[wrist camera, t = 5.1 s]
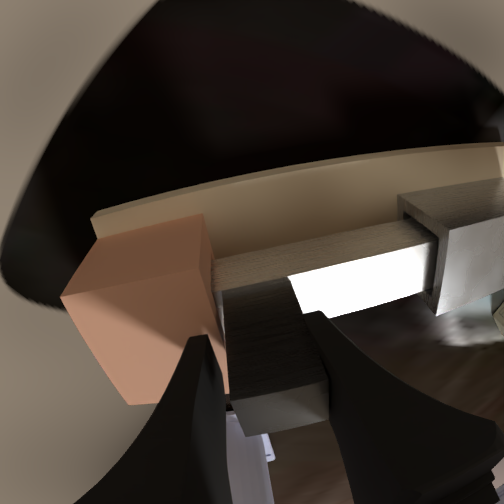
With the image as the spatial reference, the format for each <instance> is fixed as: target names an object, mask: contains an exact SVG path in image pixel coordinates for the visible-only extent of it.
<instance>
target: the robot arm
mask: <svg viewBox="0 0 504 504" xmlns="http://www.w3.org/2000/svg"><path fill="white" fill-rule="evenodd" d="M302 316H303V319H304V322H305V324H306V327H307V330H308V332H309V335H310V337H311V339H312V341H313V342H314V344H315V346H316V348H317V350H318V353H319V356H320V358H321V361H322V364H323V366H324V369H325V372H326V374H327V377H328V380H329V421H330V424H331V426H332V428H333V431H334V433H335V436H336V439H337V442H338V444H339V448H340V451H341V455H342V458H343V462H344V465H345V469H346V473H347V477H348V480H349V484H350V488H351V492H352V496H353V500H354V504H504V484H503V485H502V486H500V487H499V488H497V489H496V490H495V488H494V486H493V484H492V481H493V480H494V479H495V477H494V475H493V473H492V471H491V470H492V468H494V466H496V465H497V464H498V463H499V461H501V459H502V458H503V457H504V433H503V432H502V430H501V429H500V428H499V426H498V425H497V424H496V423H495V421H492V420H488V419H485V418H482V417H479V416H475V415H472V414H469V413H466V412H463V411H461V410H458V409H456V408H454V407H451V406H449V405H446V404H444V403H442V402H440V401H438V400H436V399H434V398H432V397H430V396H428V395H426V394H424V393H422V392H420V391H419V390H417V389H415V388H414V387H412V386H410V385H409V384H407V383H405V382H404V381H402V380H401V379H399V378H398V377H396V376H395V375H393V374H392V373H390V372H389V371H387V370H386V369H385V368H383V367H382V366H381V365H379V364H378V363H377V362H376V361H374V360H373V359H372V358H370V357H369V356H368V355H367V354H366V353H364V352H363V351H362V350H361V349H360V348H359V347H358V346H357V345H355V344H354V343H353V342H352V341H351V340H350V339H349V338H348V337H347V336H346V335H345V334H344V333H343V332H342V331H341V330H340V329H339V328H338V327H337V326H336V325H335V324H334V323H333V322H332V321H331V320H330V319H329V318H328V317H327V316H326V315H325V313H324V312H323V311H321V310H316V311H312V312H308V313H303V315H302ZM274 459H275V455H274V452H273V449H272V446H271V443H270V440H269V436H268V433H267V434H261V435H256V436H250V437H245V435H244V433H243V430H242V428H241V426H240V423H239V421H238V419H237V416H236V414H235V412H234V411H228V412H226V397H225V389H224V381H223V374H222V371H221V369H220V366H219V363H218V361H217V358H216V355H215V353H214V350H213V347H212V345H211V342H210V339H209V336H208V334H203V335H197V336H192V337H189V338H188V340H187V342H186V345H185V347H184V350H183V352H182V355H181V357H180V359H179V362H178V364H177V366H176V369H175V371H174V373H173V375H172V377H171V379H170V381H169V383H168V385H167V388H166V390H165V392H164V393H163V395H162V397H161V399H160V401H159V403H158V404H157V406H156V408H155V410H154V412H153V413H152V415H151V417H150V418H149V420H148V421H147V423H146V425H145V426H144V428H143V429H142V431H141V432H140V434H139V435H138V436H137V438H136V439H135V440H134V442H133V443H132V444H131V446H130V447H129V449H128V450H127V451H126V452H125V454H124V455H123V456H122V457H121V458H120V460H119V461H118V462H117V463H116V464H115V465H114V466H113V467H112V468H111V469H110V471H109V472H108V473H107V474H106V475H105V476H104V477H103V478H102V479H101V480H100V481H99V482H98V483H97V484H96V485H95V486H94V487H93V488H91V489H90V490H89V491H88V492H87V493H86V494H85V495H83V496H82V497H81V498H80V499H79V500H77V501H76V502H75V503H74V504H274V500H273V494H272V488H271V483H270V477H269V471H268V465H267V462H268V461H272V460H274Z"/></svg>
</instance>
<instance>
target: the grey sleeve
mask: <svg viewBox="0 0 504 504" xmlns="http://www.w3.org/2000/svg"><path fill="white" fill-rule="evenodd" d="M412 217H413V218H415V219H416V220H417V221H419V222H420V223H421V224H423V225H424V226H425V227H427V228H428V229H429V230H430V231H432V232H433V233H434V234H436V235H437V236H438V237H439V238H440V239H439V248H438V257H437V264H436V272H435V279H434V285H433V288H430V289H427V290H424V291H420V292H417V294H418V295H419V296H420V298H421V299H422V300H423V301H424V302H425V303H426V305H427V306H428V307H429V308H430V309H431V311H432V312H433V313H434V314H435V315H436V316H437V315H440V314H443V313H445V312H448V311H451V310H453V309H456V308H458V307H461V306H463V305H466V304H468V303H471V302H473V301H476V300H478V299H481V298H483V297H485V296H488V295H490V294H492V293H495V292H497V291H499V290H501V289H504V178H503V177H500V178H493V179H487V180H480V181H474V182H467V183H461V184H455V185H449V186H443V187H437V188H431V189H425V190H419V191H413V192H408V193H402V194H397V221H398V220H402V219H407V218H412Z"/></svg>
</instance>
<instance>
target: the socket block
mask: <svg viewBox="0 0 504 504" xmlns="http://www.w3.org/2000/svg"><path fill="white" fill-rule="evenodd" d="M211 260H215V258H214V254H213V251H212V247H211V243H210V239H209V236H208V232H207V228H206V224H205V220H204V216H203V213H201V214H197V215H192V216H188V217H184V218H179V219H175V220H171V221H167V222H163V223H158V224H154V225H150V226H146V227H142V228H138V229H134V230H130V231H126V232H122V233H118V234H115V235H111V236H107V237H103V238H99V239H97V241H96V242H95V244H94V245H93V246H92V248H91V249H90V251H89V252H88V254H87V255H86V257H85V258H84V260H83V261H82V263H81V264H80V266H79V267H78V269H77V271H76V272H75V274H74V275H73V277H72V278H71V280H70V282H69V283H68V285H67V286H66V288H65V290H64V291H63V293H62V295H61V296H60V298H61V300H62V302H63V304H64V306H65V308H66V309H67V311H68V313H69V315H70V317H71V318H72V320H73V322H74V324H75V325H76V327H77V329H78V331H79V332H80V334H81V336H82V337H83V339H84V340H85V342H86V344H87V345H88V347H89V348H90V350H91V351H92V353H93V355H94V357H95V358H96V360H97V361H98V363H99V364H100V366H101V367H102V369H103V370H104V372H105V373H106V375H107V376H108V378H109V379H110V380H111V382H112V383H113V385H114V386H115V388H116V389H117V390H118V392H119V393H120V395H121V396H122V397H123V399H124V400H125V401H126V402H127V404H128V405H142V404H153V403H159V401H160V399H161V397H162V395H163V393H164V392H165V390H166V388H167V385H168V383H169V381H170V379H171V377H172V375H173V373H174V371H175V369H176V366H177V364H178V362H179V359H180V357H181V355H182V352H183V350H184V347H185V345H186V342H187V340H188V338H189V337H192V336H197V335H203V334H208V336H209V339H210V342H211V345H212V347H213V350H214V353H215V355H216V358H217V361H218V363H219V366H220V369H221V371H222V374H223V381H224V389H225V394H229V383H228V371H227V358H226V345H225V334H224V330H223V327H222V324H221V321H220V318H219V315H218V311H217V308H216V305H215V302H214V298H213V295H212V292H211Z"/></svg>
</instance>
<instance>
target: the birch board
mask: <svg viewBox="0 0 504 504" xmlns="http://www.w3.org/2000/svg"><path fill="white" fill-rule="evenodd" d="M500 177H503V178H504V142H489V143H471V144H457V145H444V146H432V147H422V148H412V149H403V150H394V151H385V152H377V153H370V154H362V155H355V156H348V157H341V158H334V159H328V160H322V161H315V162H309V163H304V164H298V165H292V166H286V167H281V168H276V169H270V170H265V171H260V172H255V173H250V174H245V175H240V176H235V177H230V178H226V179H221V180H217V181H212V182H208V183H203V184H199V185H195V186H190V187H186V188H182V189H178V190H174V191H170V192H166V193H162V194H158V195H154V196H150V197H146V198H142V199H139V200H135V201H131V202H128V203H124V204H120V205H117V206H113V207H110V208H106V209H103V210H99V211H97V212H96V213H95V214H94V215H93V216H92V218H91V219H90V220H91V222H92V225H93V228H94V231H95V233H96V236H97V238H98V239H99V238H103V237H107V236H111V235H115V234H118V233H122V232H126V231H130V230H134V229H138V228H142V227H146V226H150V225H154V224H158V223H163V222H167V221H171V220H175V219H179V218H184V217H188V216H192V215H197V214H201V213H203V216H204V220H205V224H206V228H207V232H208V236H209V239H210V243H211V247H212V251H213V254H214V258H215V259H220V258H224V257H229V256H234V255H238V254H243V253H248V252H252V251H257V250H262V249H266V248H271V247H276V246H280V245H285V244H290V243H295V242H299V241H304V240H309V239H313V238H318V237H323V236H327V235H332V234H337V233H341V232H346V231H351V230H356V229H360V228H365V227H370V226H374V225H379V224H384V223H388V222H393V221H397V194H402V193H408V192H413V191H419V190H425V189H431V188H437V187H443V186H449V185H455V184H461V183H467V182H474V181H480V180H487V179H493V178H500Z"/></svg>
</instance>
